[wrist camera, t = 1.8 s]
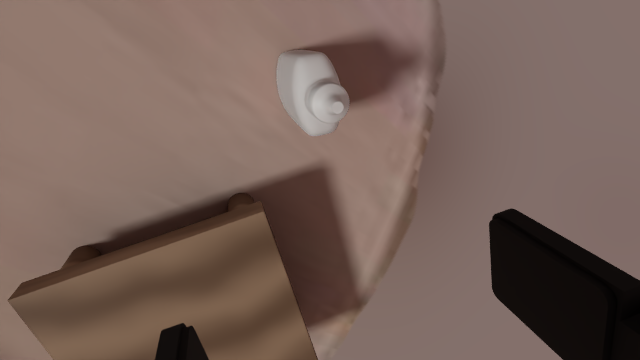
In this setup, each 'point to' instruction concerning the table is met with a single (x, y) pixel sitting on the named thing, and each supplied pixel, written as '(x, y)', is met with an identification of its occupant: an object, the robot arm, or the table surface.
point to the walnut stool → (173, 295)
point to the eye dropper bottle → (311, 91)
